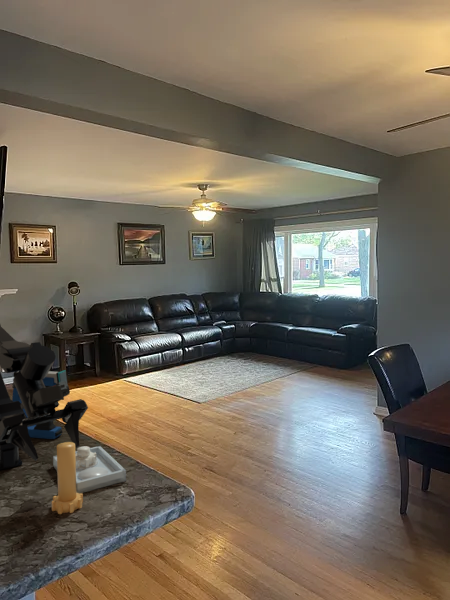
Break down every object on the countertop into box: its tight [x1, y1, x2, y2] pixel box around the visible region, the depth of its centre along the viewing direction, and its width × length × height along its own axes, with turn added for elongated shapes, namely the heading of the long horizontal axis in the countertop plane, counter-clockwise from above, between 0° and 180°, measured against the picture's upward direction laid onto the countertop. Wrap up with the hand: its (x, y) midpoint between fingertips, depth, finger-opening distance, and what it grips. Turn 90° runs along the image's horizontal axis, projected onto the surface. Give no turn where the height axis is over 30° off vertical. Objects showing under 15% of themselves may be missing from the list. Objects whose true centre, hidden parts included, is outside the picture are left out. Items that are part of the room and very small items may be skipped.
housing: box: [52, 445, 127, 494], centre depth 111 cm, size 18×12×5 cm, turn 34°
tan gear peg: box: [51, 441, 84, 515], centre depth 96 cm, size 6×6×13 cm
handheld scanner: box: [11, 369, 68, 440], centre depth 136 cm, size 5×16×20 cm, turn 79°
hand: (58, 452), depth 98 cm, fingers open, 9 cm apart
